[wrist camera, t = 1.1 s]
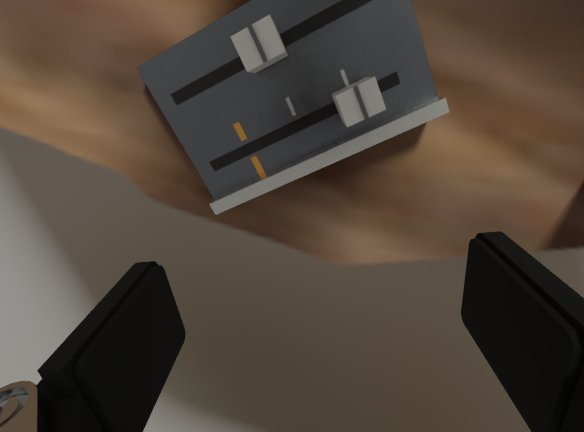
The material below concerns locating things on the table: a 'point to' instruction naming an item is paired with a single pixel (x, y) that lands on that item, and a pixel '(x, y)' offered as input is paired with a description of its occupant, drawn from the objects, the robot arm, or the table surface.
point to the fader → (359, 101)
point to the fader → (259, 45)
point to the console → (290, 91)
